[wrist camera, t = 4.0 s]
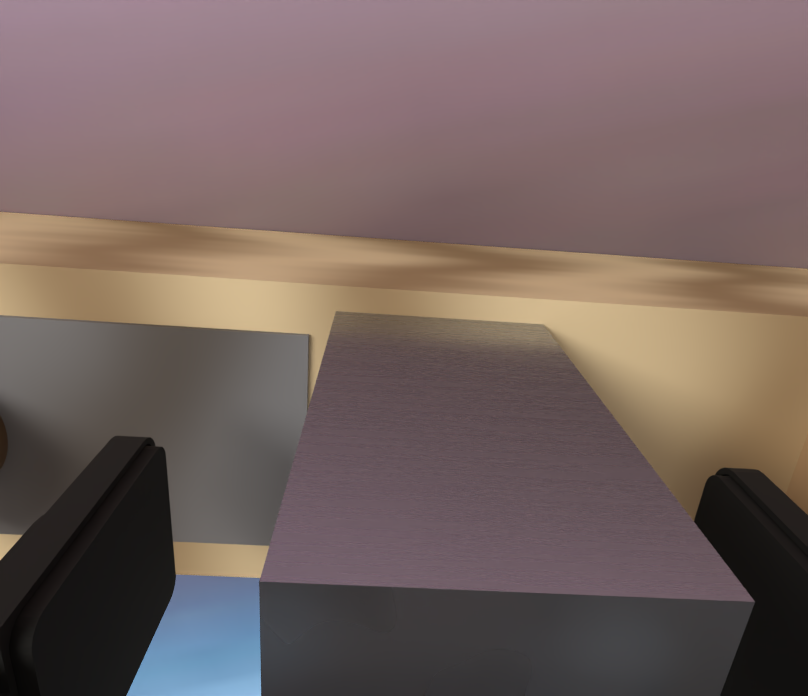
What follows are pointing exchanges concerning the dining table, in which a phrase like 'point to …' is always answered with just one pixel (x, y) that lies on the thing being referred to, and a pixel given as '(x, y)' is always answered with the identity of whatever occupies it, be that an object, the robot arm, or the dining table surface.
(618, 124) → the dining table surface
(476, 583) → the tall grey box
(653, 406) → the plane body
